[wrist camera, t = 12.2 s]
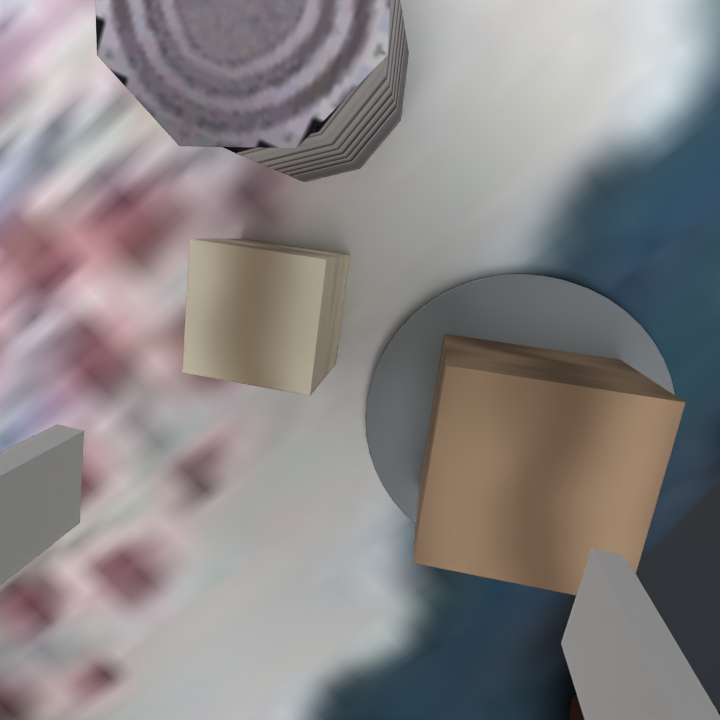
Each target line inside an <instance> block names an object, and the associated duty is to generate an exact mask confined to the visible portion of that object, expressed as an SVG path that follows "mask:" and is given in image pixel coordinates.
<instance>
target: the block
mask: <svg viewBox="0 0 720 720" xmlns="http://www.w3.org/2000/svg"><path fill="white" fill-rule="evenodd" d="M684 406H685V402H684V401H683V400H681V399H680V398H678V397H676V396H675V395H673V394H672V393H670V392H669V391H667V390H666V389H664V388H663V387H661V386H660V385H658V384H657V383H655V382H654V381H652V380H651V379H649V378H648V377H646V376H645V375H643V374H642V373H640V372H639V371H637V370H636V369H634V368H632V367H631V366H629V365H628V364H626V363H625V362H623V361H622V360H619V359H612V358H605V357H598V356H592V355H585V354H578V353H571V352H565V351H558V350H551V349H544V348H538V347H531V346H524V345H517V344H511V343H504V342H497V341H490V340H484V339H477V338H470V337H463V336H456V335H450V334H444V339H443V345H442V351H441V357H440V363H439V369H438V375H437V381H436V387H435V393H434V399H433V405H432V411H431V417H430V423H429V429H428V435H427V441H426V447H425V453H424V459H423V465H422V471H421V477H420V483H419V490H418V503H417V516H416V529H415V541H414V554H413V563H416V564H421V565H426V566H431V567H436V568H441V569H447V570H452V571H457V572H462V573H467V574H472V575H477V576H482V577H487V578H492V579H497V580H502V581H507V582H512V583H517V584H522V585H527V586H532V587H537V588H542V589H547V590H552V591H557V592H562V593H567V594H572V595H577V593H578V589H579V586H580V583H581V580H582V577H583V574H584V571H585V568H586V565H587V562H588V559H589V556H590V552H591V549H596V550H600V551H605V552H609V553H613V554H618V555H622V556H625V558H626V559H627V561H628V563H629V564H630V566H631V568H632V569H633V571H634V573H635V574H636V570H637V567H638V564H639V560H640V557H641V554H642V550H643V547H644V543H645V540H646V536H647V533H648V530H649V526H650V523H651V519H652V516H653V512H654V509H655V505H656V502H657V499H658V495H659V492H660V488H661V485H662V481H663V478H664V475H665V471H666V468H667V464H668V461H669V457H670V454H671V450H672V447H673V444H674V440H675V437H676V433H677V430H678V426H679V423H680V420H681V416H682V413H683V409H684Z"/></svg>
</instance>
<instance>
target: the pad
mask: <svg viewBox="0 0 720 720" xmlns="http://www.w3.org/2000/svg"><path fill="white" fill-rule="evenodd" d="M444 334H450V335H456V336H463V337H470V338H477V339H484V340H490V341H497V342H504V343H511V344H517V345H524V346H531V347H538V348H544V349H551V350H558V351H565V352H571V353H578V354H585V355H592V356H598V357H605V358H612V359H619V360H622V361H623V362H625V363H626V364H628V365H629V366H631V367H632V368H634V369H636V370H637V371H639V372H640V373H642V374H643V375H645V376H646V377H648V378H649V379H651V380H652V381H654V382H655V383H657V384H658V385H660V386H661V387H663V388H664V389H666V390H667V391H669V392H670V393H672V394H673V395H675V394H674V390H673V385H672V381H671V377H670V374H669V372H668V369H667V367H666V364H665V362H664V359H663V357H662V356H661V354H660V352H659V350H658V349H657V347H656V345H655V343H654V342H653V340H652V339H651V338H650V337H649V335H648V334H647V333H646V331H645V330H644V329H643V328H642V326H641V325H640V324H639V323H638V322H637V321H636V320H634V319H633V318H632V317H631V316H630V315H629V314H628V313H627V312H626V311H625V310H623V309H622V308H621V307H619V306H618V305H616V304H615V303H613V302H612V301H611V300H609V299H608V298H606V297H604V296H602V295H600V294H598V293H596V292H594V291H592V290H590V289H588V288H585V287H582V286H580V285H577V284H574V283H571V282H568V281H565V280H562V279H557V278H553V277H548V276H543V275H532V274H504V275H496V276H491V277H485V278H480V279H477V280H474V281H470V282H467V283H464V284H461V285H459V286H457V287H455V288H452V289H450V290H448V291H446V292H444V293H442V294H440V295H439V296H437V297H436V298H434V299H432V300H431V301H429V302H428V303H426V304H425V305H424V306H423V307H421V308H420V309H419V310H418V311H416V312H415V313H414V314H413V315H412V316H411V317H410V318H409V319H408V320H407V321H406V322H405V323H404V324H403V325H402V326H401V327H400V328H399V330H398V331H397V333H396V334H395V335H394V337H393V338H392V339H391V341H390V342H389V344H388V345H387V347H386V349H385V351H384V353H383V355H382V357H381V359H380V361H379V363H378V365H377V367H376V370H375V373H374V375H373V378H372V381H371V384H370V389H369V393H368V398H367V405H366V418H365V419H366V436H367V442H368V447H369V452H370V455H371V458H372V461H373V464H374V467H375V470H376V472H377V474H378V476H379V478H380V480H381V482H382V484H383V486H384V488H385V489H386V491H387V492H388V494H389V495H390V497H391V498H392V500H393V501H394V502H395V503H396V505H397V506H398V507H399V508H400V509H401V510H402V512H403V513H404V514H405V515H406V516H407V517H409V518H410V519H411V520H412V521H413V522H414V523H415V524H416V516H417V503H418V490H419V483H420V477H421V471H422V465H423V459H424V453H425V447H426V441H427V435H428V429H429V423H430V417H431V411H432V405H433V399H434V393H435V387H436V381H437V375H438V369H439V363H440V357H441V351H442V345H443V339H444ZM671 451H672V450H671ZM670 455H671V454H670ZM669 458H670V457H669Z"/></svg>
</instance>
